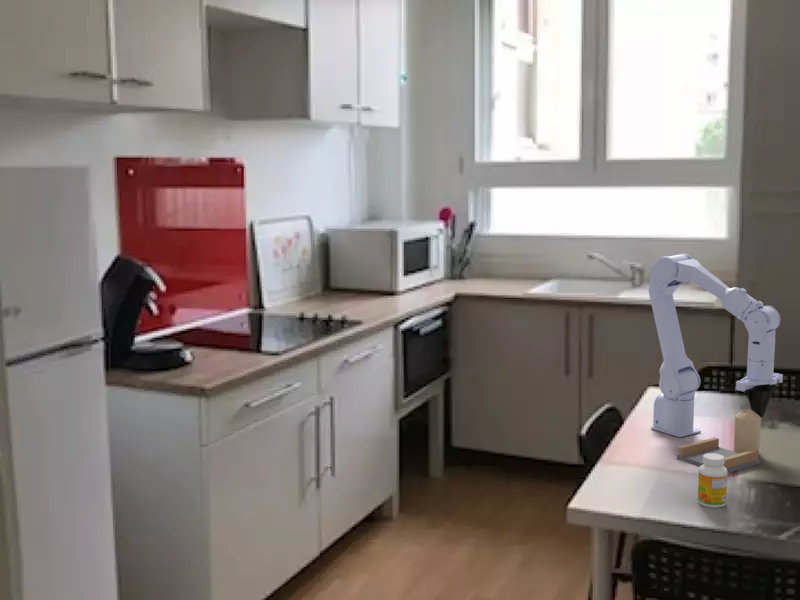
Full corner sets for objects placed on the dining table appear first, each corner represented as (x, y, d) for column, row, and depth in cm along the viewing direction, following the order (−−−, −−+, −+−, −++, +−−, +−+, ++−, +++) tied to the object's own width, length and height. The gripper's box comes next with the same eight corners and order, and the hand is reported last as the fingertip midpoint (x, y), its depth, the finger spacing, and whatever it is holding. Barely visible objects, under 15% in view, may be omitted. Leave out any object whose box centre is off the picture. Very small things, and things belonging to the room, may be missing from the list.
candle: (761, 457, 211) (763, 414, 209) (735, 455, 212) (737, 413, 210) (756, 449, 216) (758, 408, 214) (732, 448, 217) (733, 407, 216)
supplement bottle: (693, 498, 186) (694, 452, 184) (719, 497, 186) (721, 451, 185) (704, 508, 181) (706, 461, 179) (730, 507, 181) (732, 460, 180)
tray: (676, 458, 211) (676, 446, 210) (712, 448, 217) (712, 436, 217) (723, 474, 200) (724, 461, 199) (760, 463, 206) (760, 451, 206)
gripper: (755, 366, 205) (752, 425, 207) (795, 358, 213) (792, 415, 215) (729, 361, 211) (726, 418, 213) (768, 353, 219) (766, 408, 221)
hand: (757, 416), depth 215 cm, fingers closed
